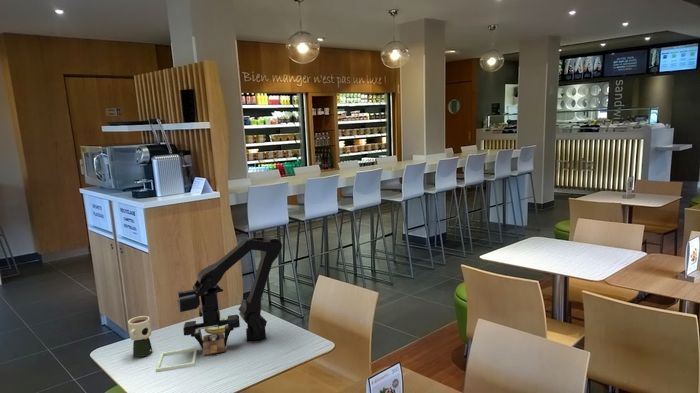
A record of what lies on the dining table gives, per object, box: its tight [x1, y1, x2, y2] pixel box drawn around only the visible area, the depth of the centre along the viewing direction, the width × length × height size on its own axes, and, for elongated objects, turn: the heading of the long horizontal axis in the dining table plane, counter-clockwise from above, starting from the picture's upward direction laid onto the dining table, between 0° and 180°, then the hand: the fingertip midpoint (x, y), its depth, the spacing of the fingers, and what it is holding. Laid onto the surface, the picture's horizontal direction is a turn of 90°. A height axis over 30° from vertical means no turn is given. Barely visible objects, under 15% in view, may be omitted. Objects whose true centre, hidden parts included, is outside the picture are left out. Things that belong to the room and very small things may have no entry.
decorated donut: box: [204, 317, 228, 334], centre depth 185 cm, size 10×11×4 cm
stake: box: [201, 334, 227, 358], centre depth 167 cm, size 8×8×6 cm
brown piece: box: [202, 332, 225, 355], centre depth 166 cm, size 7×8×4 cm
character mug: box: [127, 315, 153, 357], centre depth 167 cm, size 11×7×13 cm, turn 174°
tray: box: [155, 346, 198, 373], centre depth 160 cm, size 12×12×2 cm
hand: (214, 347), depth 167 cm, fingers closed on brown piece, 7 cm apart
